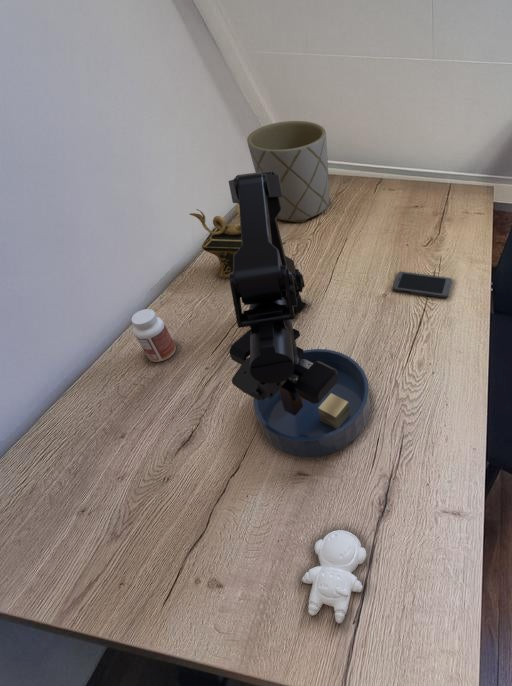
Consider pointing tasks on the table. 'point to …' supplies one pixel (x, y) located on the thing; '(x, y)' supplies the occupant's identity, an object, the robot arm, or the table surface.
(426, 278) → the cell phone
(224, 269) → the decorative box
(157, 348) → the pill bottle
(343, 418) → the maple block
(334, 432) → the bowl
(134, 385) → the table surface
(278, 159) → the planter
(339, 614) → the astronaut figurine
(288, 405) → the dark brown wooden bar
